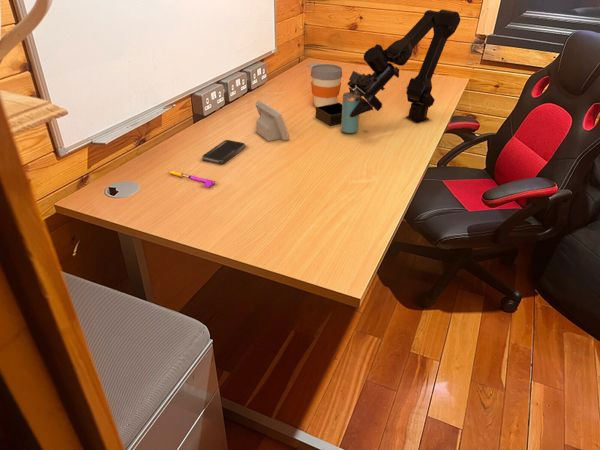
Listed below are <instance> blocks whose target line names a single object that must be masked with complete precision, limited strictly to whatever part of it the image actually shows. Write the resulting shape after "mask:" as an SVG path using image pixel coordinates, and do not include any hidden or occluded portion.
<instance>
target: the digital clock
mask: <svg viewBox="0 0 600 450" xmlns="http://www.w3.org/2000/svg"><path fill="white" fill-rule="evenodd" d="M255 108H256V110H257V113H258V115H259V118H257V119H256V122H255V127H256V128H255V129H256V133H257V134H258V135H259V136H261V137H262V138H263V139H265V140H266V141H268V142H271V141H276V140H282V141H289V140H290V134H289V131H288V129H287V125H286V124H285V121H284V117H283V115H282V113H281V112H280V111H278V110H277V109H275V108H274V107H272V106H271V105H269V104H267V103H266V102H264V101H263V100H256V101H255Z"/></svg>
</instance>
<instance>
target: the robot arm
mask: <svg viewBox="0 0 600 450" xmlns="http://www.w3.org/2000/svg"><path fill="white" fill-rule="evenodd" d="M460 23H461V16H460V13H459V11H454V10H449V9H440V10H438V11H437V10H432V9H428V10H426V11H425V12H424V13H423V16H422V17H421V18H420V19H419V20H418V21H417V22H416V23H415V24H414V25H413V26H412V27H411V28H410V30H409V31H408V32H407V33H406V34H405V35H404V36H402V38H400V39H397V40H395V41H394V42H392V43H391V44H390V45H389V46H388V47H387V48H385V49H384V48H383V46H382V45H381V44H378V43H377V44H375V45H374V46H372V47H370V48H368V49H367V50H365V52H364V54H363V61H364V62H365V63H366V64H367V66H368V67H369V68H370V69H371V70H372V71H373V72H372V73H368V74H365V73H362V74H361V73H359V72H358V71H355V70H353V71H352V73H351V74H350V76H349V79H348V80H349V81H348V82H347V84H346V85H347V86H348V90H349V91H348V92H356V93H359V94H361V96H360V102H359V104H358V105H357V106H356V107H355V109H354V110H353V111H352V113H351V114H350V116H351V117H354V116H357V115H359V114H360V115H362V114H364V113H367V112H370V111H374V110H376V111H377V112H379V111H380V110H381V109H382V108H383V102H381V100H380V99H379V98H378V97H377V96H376V95H377V94H378V93H379V92H380V91H384V90H385V89H386V88H385V86H386V85H387V83H389V81H391V79H392V78H393V77H396V78H398V79H399V78H400V68H398V67H397V66H401V67H402V66H405V65H406V64H407V63H408V61H409V60H410V59H411V57H412V56H413V51H414V49H415V47H416V46H417V45H418V44H419V43H420V42H421V41H422V40H423V39H424V38H425V36H426V35H427V34H428V33H430V31H431V30H433V35H432V38H431V41H430V44H429V46H428V49H427V51H426V54H425V57H424V59H423V62H422V64H421V67H420V69H419V72H418V74H417V75H416V76H415V77H414V78H413V77H411V78H410V79H409V82H408V85H407V87H406V93H405V94H406V98H407V102H409V103H410V108H409V110H408V111H409V113H408V115H407V116H405V118H406V119H407V120H409V121H412V122H414V123H417V124H420V123H423V122H427V121H430V118H429V117H428V112H429V108H431V107H432V106H433V105H434V103H435V99H434V97H433V95H432V90H433V84H432V79H433V75H434V74H435V72H436V71H435V70H436V68H437V67H438V64H439V61H440V59H441V55H442V53H443V50H444V49H445V45H446V43H447V41H448V39H449V38H450V37H452V35H454V34H455V33H456V30H457V29H458V27H459V25H460ZM394 65H396V66H394ZM360 115H359V116H360Z"/></svg>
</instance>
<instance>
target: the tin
mask: <svg viewBox="0 0 600 450" xmlns="http://www.w3.org/2000/svg"><path fill="white" fill-rule="evenodd" d="M360 96H361V94H359V93H356V92H349V91H348V92H347V91H346V92H344V93H343V94H342V100H341V101H342V102H341V104H342V118H341V124H340V130H341V131H342V132H343V133H347V134H354V133H357V132H358V131H359V127H360V126H359V125H360V115H361V114H359V115H357V116H354V117H351V116H350V114H351V113H352V111H353V110H354V109H355V107H356V106H357V105H358V104H359V102H360ZM361 97H362V96H361Z"/></svg>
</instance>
